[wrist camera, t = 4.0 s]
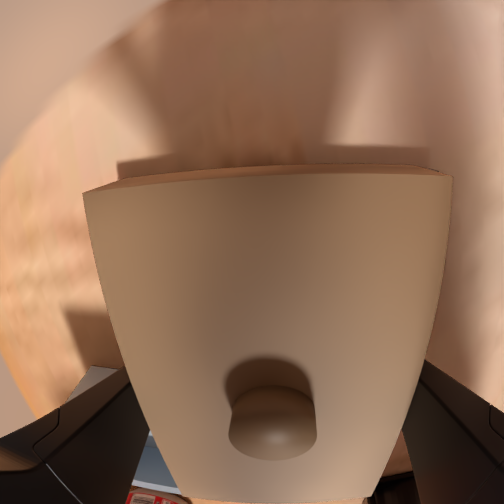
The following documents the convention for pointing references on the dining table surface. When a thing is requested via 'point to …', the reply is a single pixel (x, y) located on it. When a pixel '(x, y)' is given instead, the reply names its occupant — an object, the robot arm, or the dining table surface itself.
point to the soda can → (152, 497)
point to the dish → (151, 463)
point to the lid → (273, 318)
